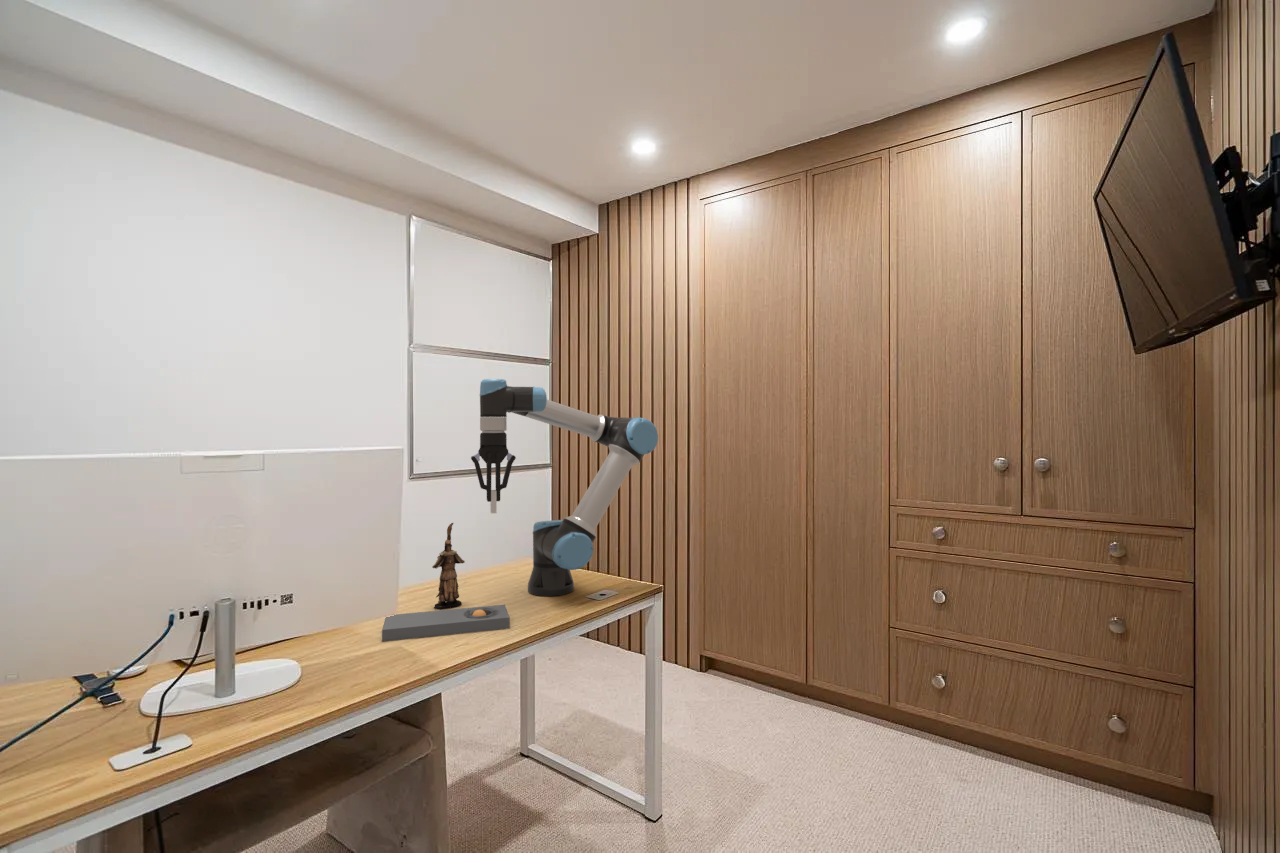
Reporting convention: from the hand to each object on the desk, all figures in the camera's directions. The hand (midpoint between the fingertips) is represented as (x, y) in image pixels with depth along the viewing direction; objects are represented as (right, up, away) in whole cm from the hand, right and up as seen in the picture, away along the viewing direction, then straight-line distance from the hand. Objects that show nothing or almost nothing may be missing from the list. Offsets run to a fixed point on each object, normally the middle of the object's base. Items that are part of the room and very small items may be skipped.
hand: (493, 512), depth 179 cm
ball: (-2, -28, -10) cm, 29 cm away
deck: (-10, -30, -12) cm, 33 cm away
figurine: (-15, -30, +6) cm, 34 cm away
